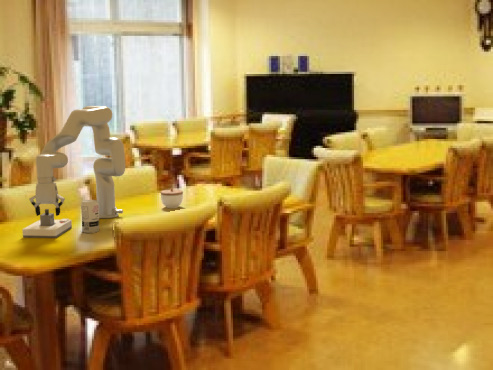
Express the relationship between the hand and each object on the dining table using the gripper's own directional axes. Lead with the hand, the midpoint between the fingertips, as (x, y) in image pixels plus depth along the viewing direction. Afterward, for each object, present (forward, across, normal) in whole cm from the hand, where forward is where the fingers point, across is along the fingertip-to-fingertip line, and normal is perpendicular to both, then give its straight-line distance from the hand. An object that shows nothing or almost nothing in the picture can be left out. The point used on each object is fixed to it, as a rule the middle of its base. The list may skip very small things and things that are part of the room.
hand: (48, 215), depth 349 cm
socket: (+8, 0, +1) cm, 8 cm away
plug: (+7, 0, +1) cm, 7 cm away
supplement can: (+9, -20, -3) cm, 22 cm away
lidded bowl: (+11, -47, -67) cm, 82 cm away
